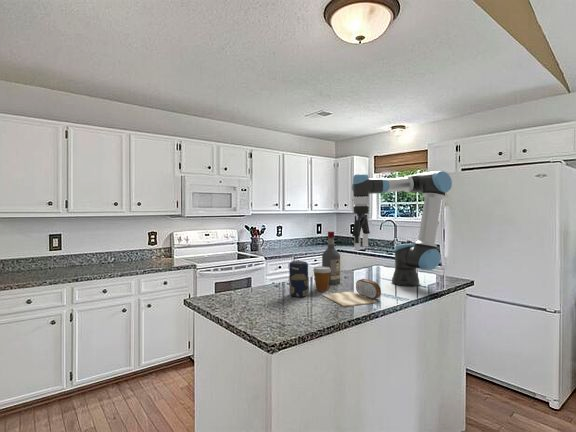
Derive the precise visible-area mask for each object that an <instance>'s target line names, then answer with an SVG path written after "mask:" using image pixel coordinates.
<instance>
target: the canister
mask: <svg viewBox="0 0 576 432" xmlns="http://www.w3.org/2000/svg"><path fill="white" fill-rule="evenodd" d="M308 263H309V262H307V261H304V260H303V261H302V260H299V259H298V260H295V261H290V262H289V271H288V274H289V284H288V285H289V295H290V296H292V297H298V298H299V297H306V296H308V295H309V264H308Z"/></svg>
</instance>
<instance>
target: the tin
mask: <svg viewBox="0 0 576 432" xmlns="http://www.w3.org/2000/svg"><path fill="white" fill-rule="evenodd" d="M355 289H356V292H357V294H359V295H362V296H364V297H366V298H369V299H370V298H371V300H376V299H379V298H380V297H381V294H382V291H381V286H380V285H379V284H378V282H376V281H373V280H370V279H366V278H361V279H358V280H357V281H356V283H355Z"/></svg>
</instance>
